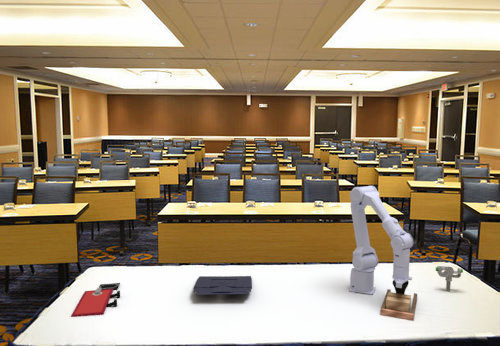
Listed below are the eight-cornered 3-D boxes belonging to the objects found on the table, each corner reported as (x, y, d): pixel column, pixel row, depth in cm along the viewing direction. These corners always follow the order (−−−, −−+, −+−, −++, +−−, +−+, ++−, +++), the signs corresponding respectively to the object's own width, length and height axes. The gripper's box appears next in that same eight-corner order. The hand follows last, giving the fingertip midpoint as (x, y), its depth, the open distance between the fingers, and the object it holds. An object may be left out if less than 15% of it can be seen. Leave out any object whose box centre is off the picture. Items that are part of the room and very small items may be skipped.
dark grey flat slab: (190, 301, 164) (190, 292, 164) (198, 282, 194) (198, 274, 194) (252, 301, 164) (252, 291, 164) (251, 281, 194) (251, 274, 194)
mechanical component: (462, 292, 174) (463, 269, 173) (435, 291, 176) (436, 267, 175) (460, 290, 177) (461, 267, 176) (434, 288, 179) (435, 265, 178)
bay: (380, 314, 155) (380, 309, 154) (387, 293, 174) (387, 289, 173) (413, 320, 150) (413, 315, 150) (417, 298, 169) (417, 293, 169)
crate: (385, 312, 156) (386, 298, 155) (388, 304, 163) (388, 290, 162) (408, 316, 152) (409, 302, 152) (410, 308, 160) (411, 294, 159)
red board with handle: (124, 284, 185) (89, 287, 183) (124, 278, 185) (88, 281, 183) (114, 315, 156) (71, 319, 154) (113, 308, 156) (70, 311, 153)
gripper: (411, 272, 152) (409, 308, 154) (413, 261, 165) (412, 294, 167) (390, 270, 155) (389, 305, 157) (394, 258, 168) (393, 291, 170)
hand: (399, 299), depth 162 cm, fingers closed
